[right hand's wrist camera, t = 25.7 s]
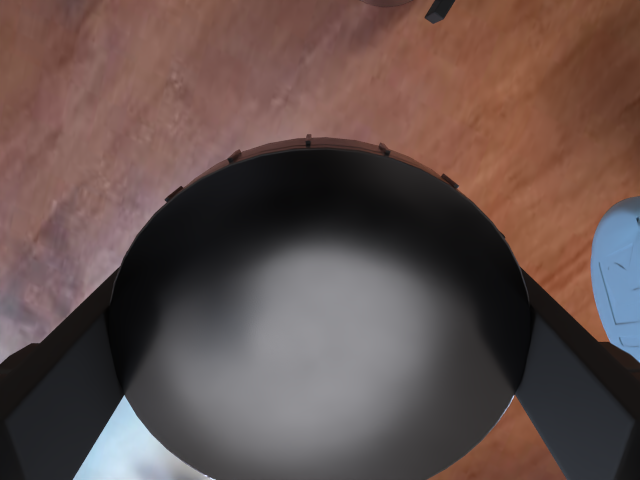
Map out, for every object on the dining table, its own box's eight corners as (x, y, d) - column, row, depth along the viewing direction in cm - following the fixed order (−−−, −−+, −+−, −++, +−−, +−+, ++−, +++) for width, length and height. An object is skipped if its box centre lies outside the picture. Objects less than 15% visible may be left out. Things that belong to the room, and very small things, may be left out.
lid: (374, 36, 9) (383, 29, 8) (571, 358, 13) (603, 395, 11) (51, 286, 12) (12, 317, 10) (287, 505, 15) (283, 551, 14)
